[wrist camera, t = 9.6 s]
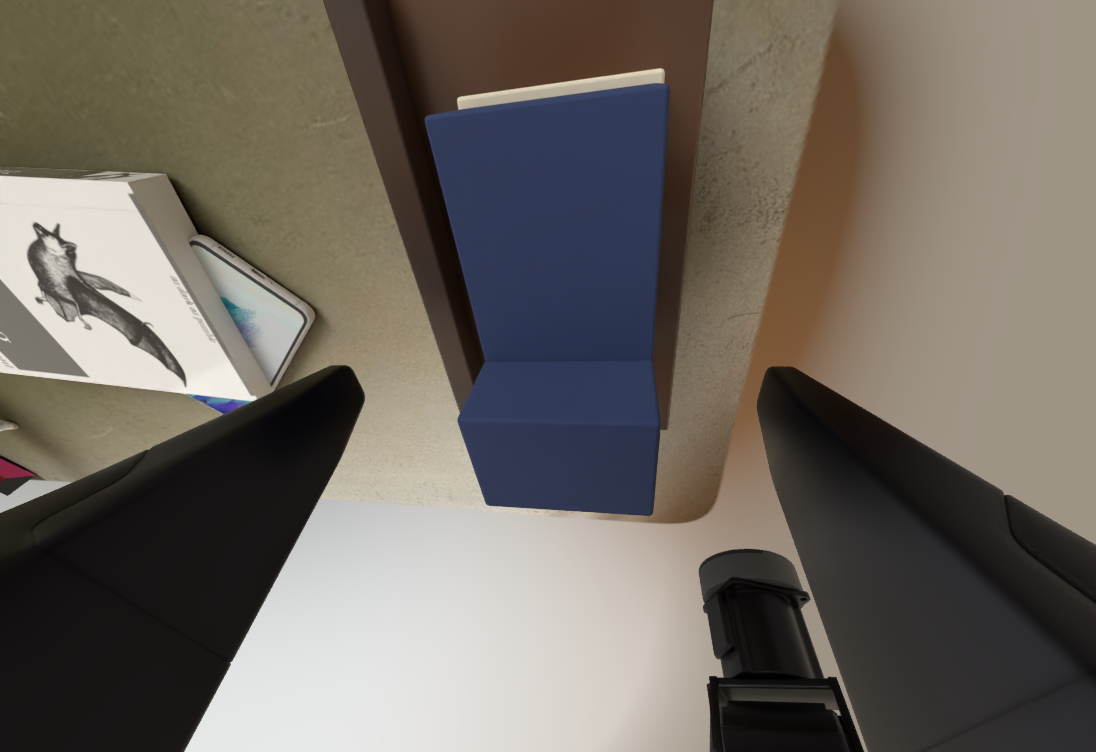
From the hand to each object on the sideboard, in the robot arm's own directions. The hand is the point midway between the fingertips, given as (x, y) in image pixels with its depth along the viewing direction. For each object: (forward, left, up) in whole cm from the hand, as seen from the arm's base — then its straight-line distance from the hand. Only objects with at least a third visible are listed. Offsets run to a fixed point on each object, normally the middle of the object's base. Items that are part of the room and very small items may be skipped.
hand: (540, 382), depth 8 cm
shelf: (0, -1, -13) cm, 13 cm away
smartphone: (+22, +12, -13) cm, 28 cm away
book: (+32, +10, -13) cm, 36 cm away
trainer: (0, -1, -4) cm, 4 cm away
